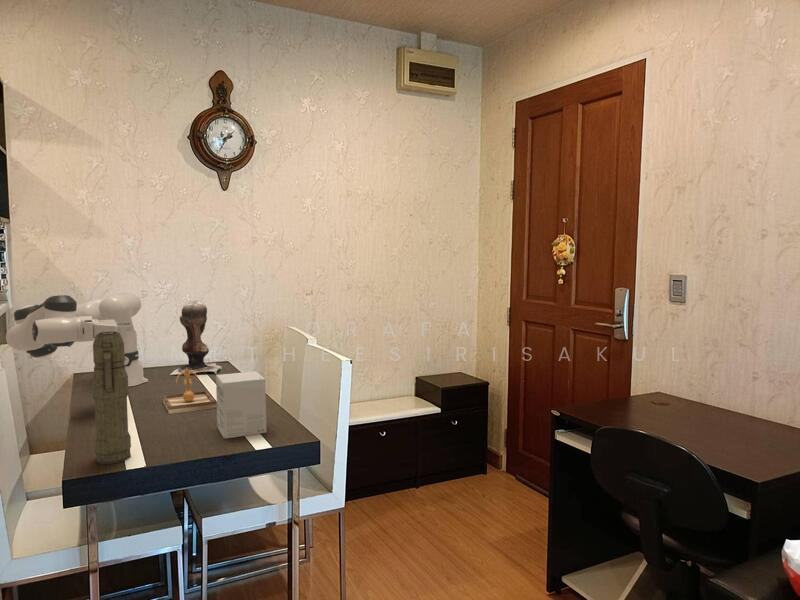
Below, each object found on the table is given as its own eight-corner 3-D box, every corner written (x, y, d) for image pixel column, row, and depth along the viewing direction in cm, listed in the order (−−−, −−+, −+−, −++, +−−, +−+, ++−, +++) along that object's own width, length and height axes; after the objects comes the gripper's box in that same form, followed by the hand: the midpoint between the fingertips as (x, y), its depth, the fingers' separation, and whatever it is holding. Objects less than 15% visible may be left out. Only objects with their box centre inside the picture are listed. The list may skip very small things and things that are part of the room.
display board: (162, 402, 215) (162, 395, 215) (206, 396, 223) (206, 390, 223) (169, 414, 199) (168, 407, 199) (216, 408, 207) (215, 401, 207)
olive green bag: (96, 468, 150) (90, 336, 147) (94, 454, 160) (88, 331, 157) (133, 462, 154) (128, 334, 151) (129, 448, 164) (124, 329, 161)
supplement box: (257, 421, 191) (256, 370, 189) (267, 433, 179) (266, 378, 178) (216, 427, 185) (215, 374, 183) (223, 439, 173) (222, 382, 172)
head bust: (225, 362, 288) (220, 294, 281) (218, 378, 263) (213, 304, 257) (179, 365, 284) (174, 296, 278) (168, 381, 260) (162, 306, 253)
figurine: (177, 404, 206) (176, 371, 205) (175, 400, 212) (174, 368, 211) (201, 401, 210) (200, 369, 209) (198, 397, 216) (197, 366, 215)
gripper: (87, 333, 208) (129, 331, 214) (87, 341, 190) (133, 338, 196) (86, 316, 207) (128, 314, 214) (86, 322, 189) (132, 320, 196)
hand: (130, 326), depth 205 cm, fingers open, 8 cm apart
